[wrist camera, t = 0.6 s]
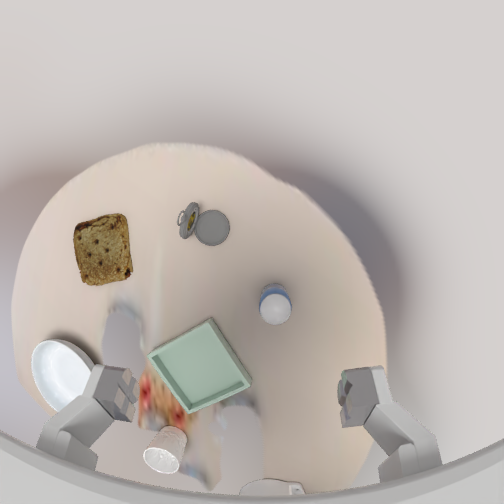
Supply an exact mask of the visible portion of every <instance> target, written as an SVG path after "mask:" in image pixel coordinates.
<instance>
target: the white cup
mask: <svg viewBox="0 0 504 504" xmlns="http://www.w3.org/2000/svg"><path fill="white" fill-rule="evenodd" d="M186 443H187V437H186V434H185V433H184V432H183V431H182V430H180V429H179V428H177V427H173V426H165V427H163V428H162V429H161V430H160V431H159V433H158V434H157V435H156V436H155V438H154V439H153V440H152V442H151V443H150V444H149V446H148V447H147V449H146V450H145V451H144V454H143V456H144V460H145V462H146V463H147V464H148V465H149V466H150V467H151V468H152V469H154V470H156V471H158V472H160V473H165V474H171V473H174V472H176V471H177V470H178V469H179V466H180V463H181V460H182V457H183V454H184V451H185V446H186Z"/></svg>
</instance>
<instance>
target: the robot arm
mask: <svg viewBox="0 0 504 504" xmlns="http://www.w3.org/2000/svg"><path fill="white" fill-rule="evenodd" d="M341 377H342V380H340V381H339V384H338V402H339V404H340V405H341V406H342V410H341V412H340V415H341V422H342V428H345V427H354V426H362V425H364V426H363V427H364V428H365V429H366V430H367V431H368V433H369V434H370V435H371V436H372V437H373V438H374V440H375V441H376V442H377V443H378V444H379V445H380V447H381V448H382V449H383V450H384V451H385V452H386V454H387V455H388V456H389V457H388V458H387V459H386V460H385V461H384V462H383V463H382V464H381V465H380V466H379V467H378V470H379V477H380V483H378V484H372V485H367V486H362V487H357V488H351V489H344V490H337V491H330V492H321V493H311V494H305V492H304V490H303V487H302V485H301V484H300V483H297V482H284V481H280V480H274V479H262V480H256V481H253V482H250V483H248V484H246V485H245V486H244V487H243V488H242V489H241V490H240V493H239V495H224V494H211V493H201V492H192V491H184V490H177V489H171V488H165V487H160V486H154V485H149V484H144V483H140V482H135V481H131V480H127V479H123V478H119V477H115V476H112V475H108V474H105V473H101V472H98V471H95V468H96V464H97V459H98V456H97V454H96V453H94V452H93V451H92V450H90V449H89V448H90V446H91V445H92V444H93V443H94V442H95V441H96V440H97V439H98V438H99V437H100V436H101V435H102V434H103V433H104V431H105V430H106V429H107V428H108V427H109V426H110V425H111V424H112V423H113V422H114V420H120V421H126V422H132V420H133V416H134V412H135V407H134V405H133V404H134V403H135V402H136V401H137V400H138V398H139V393H140V387H139V383H138V381H137V380H136V379H135V378H133V377H132V372H131V371H130V369H129V368H120V367H113V366H107V365H100V364H96V365H95V366H94V367H93V369H92V372H91V374H90V376H89V379H88V381H87V384H86V386H85V389H84V391H83V394H82V395H79V396H77V397H76V398H75V399H74V400H73V401H71V402H70V403H69V404H68V405H66V406H65V407H64V408H63V409H62V410H60V411H59V412H58V413H57V414H55V415H54V416H53V417H52V418H51V419H50V420H48V421H47V422H46V423H45V424H44V426H43V429H42V432H41V434H40V438H39V440H38V443H37V446H36V448H35V447H33V446H30V445H28V444H26V443H24V442H22V441H20V440H18V439H16V438H14V437H12V436H10V435H9V434H7V433H5V432H3V431H1V430H0V504H504V439H502V440H500V441H498V442H496V443H494V444H492V445H490V446H488V447H486V448H483V449H481V450H479V451H477V452H474V453H472V454H470V455H467V456H465V457H462V458H460V459H457V460H455V461H452V462H449V463H447V464H444V465H442V461H441V457H440V452H439V449H438V445H437V441H436V437H435V435H434V434H433V433H431V432H430V431H429V430H428V429H427V428H426V427H425V426H424V425H422V424H421V423H420V422H419V421H418V420H417V419H416V418H415V417H414V416H413V415H411V414H410V413H409V412H408V411H407V410H406V409H405V408H403V407H402V406H401V405H400V404H399V403H398V402H397V401H394V402H393V399H392V396H391V392H390V388H389V385H388V381H387V378H386V374H385V371H384V368H383V367H382V366H381V365H379V366H372V367H363V368H356V369H348V370H343V371H342V374H341Z"/></svg>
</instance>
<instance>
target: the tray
mask: <svg viewBox="0 0 504 504" xmlns="http://www.w3.org/2000/svg"><path fill="white" fill-rule="evenodd" d="M147 357H148V359H149V360H150V362H151V363H152V365H153V366H154V368H155V369H156V371H157V372H158V374H159V375H160V377H161V378H162V379H163V381H164V382H165V384H166V385H167V387H168V388H169V389H170V391H171V392H172V393H173V395H174V396H175V398H176V399H177V400H178V402H179V403H180V404H181V406H182V407H183V408H184V410H185V411H186V412H187V413H188V414H190V413H193V412H195V411H198V410H200V409H202V408H205V407H207V406H209V405H212V404H214V403H216V402H218V401H221V400H223V399H225V398H227V397H230V396H232V395H234V394H236V393H238V392H240V391H242V390H244V389H247V388H249V387H251V380H252V379H251V377H250V376H249V374H248V373H247V371H246V370H245V368H244V367H243V365H242V364H241V363H240V361H239V360H238V358H237V356H236V355H235V353H234V352H233V350H232V349H231V347H230V346H229V344H228V343H227V341H226V340H225V338H224V337H223V335H222V333H221V332H220V330H219V329H218V327H217V326H216V324H215V322H214V321H213V319H212V318H210V319H208V320H206V321H205V322H203V323H201V324H199V325H198V326H196V327H194V328H192V329H190V330H189V331H187V332H185V333H183V334H181V335H180V336H178V337H176V338H174V339H172V340H170V341H169V342H167V343H165V344H163V345H161V346H159V347H157V348H156V349H154V350H152V351H151V352H150V353H149V354H148V355H147Z"/></svg>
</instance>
